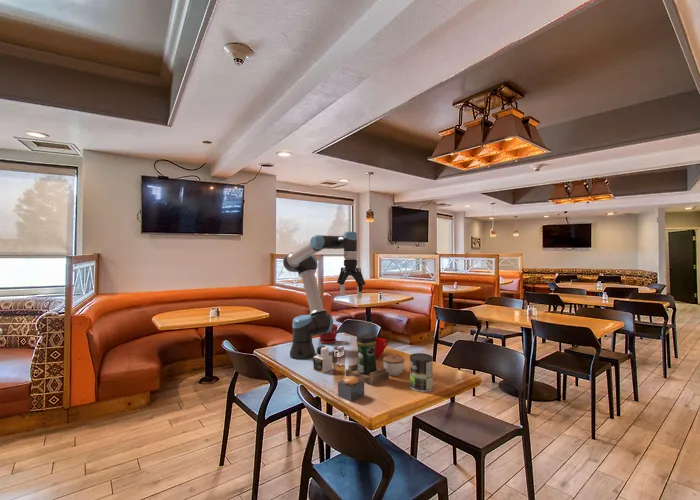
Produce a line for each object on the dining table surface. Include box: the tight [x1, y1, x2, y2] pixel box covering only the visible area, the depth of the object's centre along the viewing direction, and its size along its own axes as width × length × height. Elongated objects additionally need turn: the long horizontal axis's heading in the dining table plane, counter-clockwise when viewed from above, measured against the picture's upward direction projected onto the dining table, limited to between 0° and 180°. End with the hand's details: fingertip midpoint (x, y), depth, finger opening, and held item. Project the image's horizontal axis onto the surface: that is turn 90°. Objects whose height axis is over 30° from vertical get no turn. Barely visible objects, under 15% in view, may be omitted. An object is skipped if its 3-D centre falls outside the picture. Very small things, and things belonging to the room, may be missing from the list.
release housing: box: [337, 379, 365, 402], centre depth 144 cm, size 8×8×6 cm
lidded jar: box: [382, 354, 405, 377], centre depth 171 cm, size 11×11×9 cm
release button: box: [343, 376, 359, 386], centre depth 144 cm, size 6×6×7 cm
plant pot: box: [318, 323, 338, 345], centre depth 232 cm, size 13×13×12 cm
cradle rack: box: [345, 362, 390, 387], centre depth 166 cm, size 18×12×5 cm, turn 44°
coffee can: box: [409, 352, 434, 393], centre depth 153 cm, size 10×10×14 cm
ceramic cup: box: [375, 336, 389, 360], centre depth 199 cm, size 13×17×10 cm
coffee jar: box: [356, 332, 378, 374], centre depth 166 cm, size 10×8×19 cm
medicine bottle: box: [312, 345, 333, 374], centre depth 177 cm, size 7×7×12 cm
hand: (350, 296), depth 189 cm, fingers open, 13 cm apart
